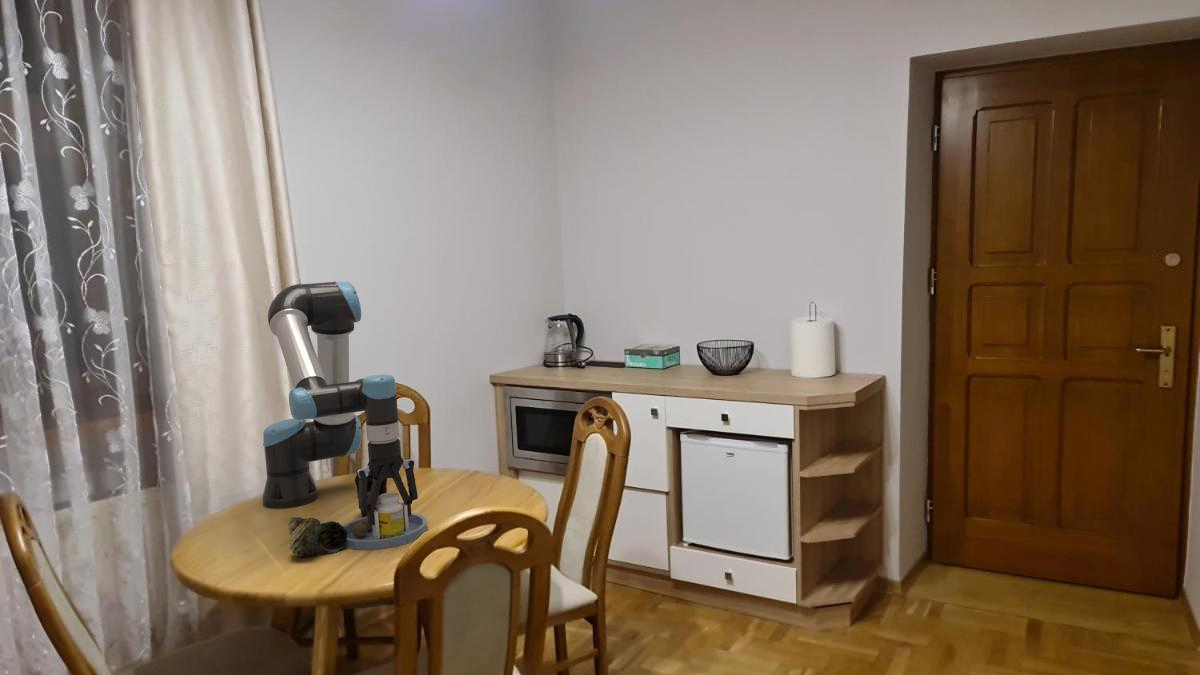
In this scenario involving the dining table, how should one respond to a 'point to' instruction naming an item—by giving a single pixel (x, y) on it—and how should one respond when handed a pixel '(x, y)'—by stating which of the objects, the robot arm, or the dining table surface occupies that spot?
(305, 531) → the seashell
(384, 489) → the coffee cup
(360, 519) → the ring tray
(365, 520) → the walnut bead
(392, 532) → the pill bottle
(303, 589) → the dining table surface
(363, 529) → the walnut bead
